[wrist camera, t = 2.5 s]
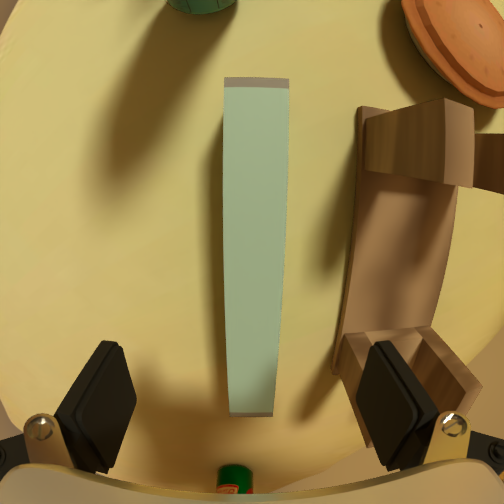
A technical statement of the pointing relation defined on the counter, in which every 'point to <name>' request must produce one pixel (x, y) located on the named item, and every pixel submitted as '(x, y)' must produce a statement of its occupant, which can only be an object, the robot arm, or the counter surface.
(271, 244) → the rail
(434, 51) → the pie
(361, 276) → the post stand
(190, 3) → the beverage bottle
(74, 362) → the counter surface
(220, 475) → the soda can
